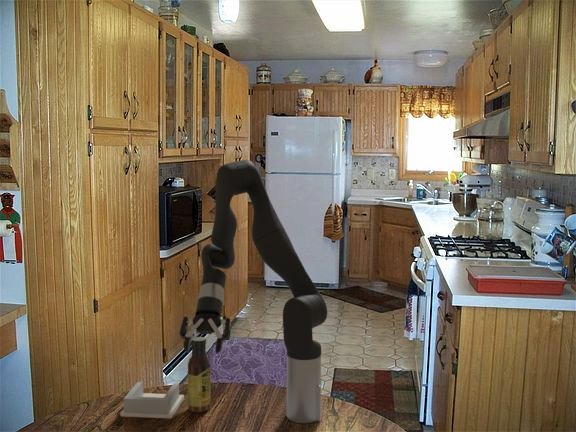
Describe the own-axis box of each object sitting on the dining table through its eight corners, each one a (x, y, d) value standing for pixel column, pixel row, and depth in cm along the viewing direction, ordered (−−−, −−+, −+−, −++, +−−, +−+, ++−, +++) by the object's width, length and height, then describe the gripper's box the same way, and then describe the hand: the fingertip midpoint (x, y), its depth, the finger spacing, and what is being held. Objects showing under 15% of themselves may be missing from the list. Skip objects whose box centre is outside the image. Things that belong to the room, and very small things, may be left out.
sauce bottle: (206, 415, 158) (205, 343, 156) (184, 412, 160) (183, 342, 157) (213, 404, 165) (213, 336, 162) (192, 402, 166) (191, 334, 164)
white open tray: (184, 398, 169) (183, 381, 168) (171, 418, 156) (171, 400, 156) (136, 396, 170) (136, 379, 170) (120, 416, 157) (119, 398, 157)
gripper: (184, 294, 172) (174, 345, 162) (232, 295, 171) (225, 347, 161) (189, 307, 178) (179, 357, 168) (235, 308, 177) (228, 358, 167)
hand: (202, 352), depth 164 cm, fingers open, 8 cm apart
